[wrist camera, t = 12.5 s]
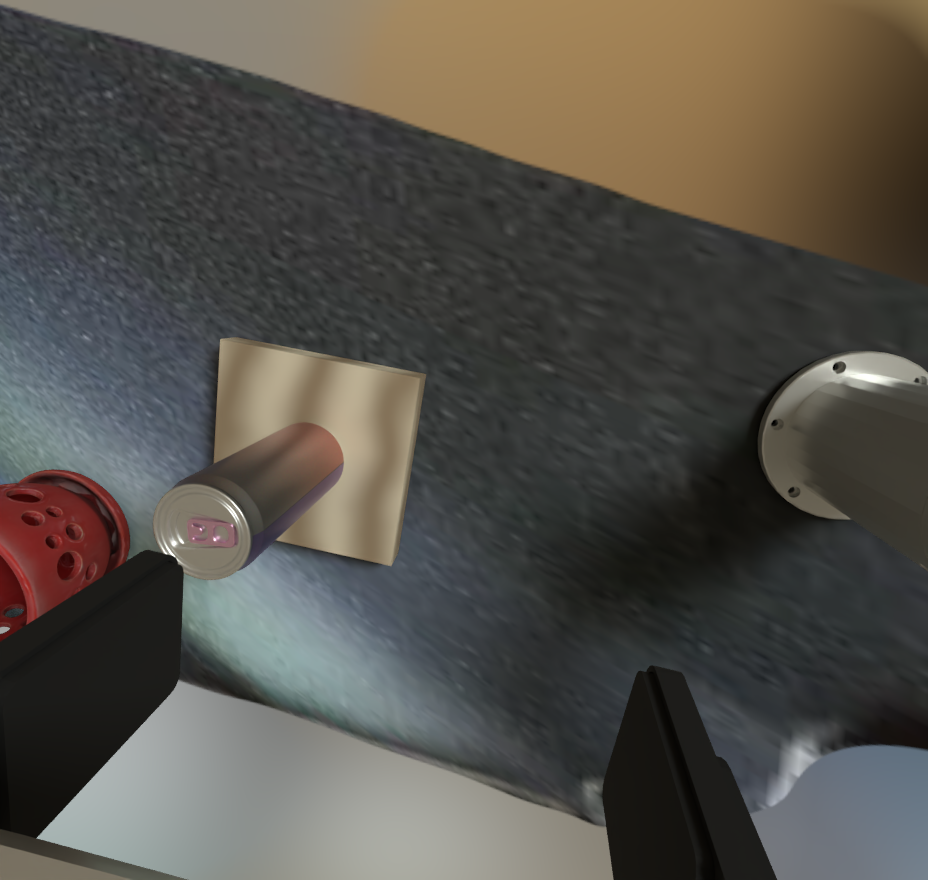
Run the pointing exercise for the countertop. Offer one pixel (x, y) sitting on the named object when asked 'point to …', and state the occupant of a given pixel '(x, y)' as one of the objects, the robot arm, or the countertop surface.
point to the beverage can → (246, 500)
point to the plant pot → (55, 541)
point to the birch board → (346, 417)
